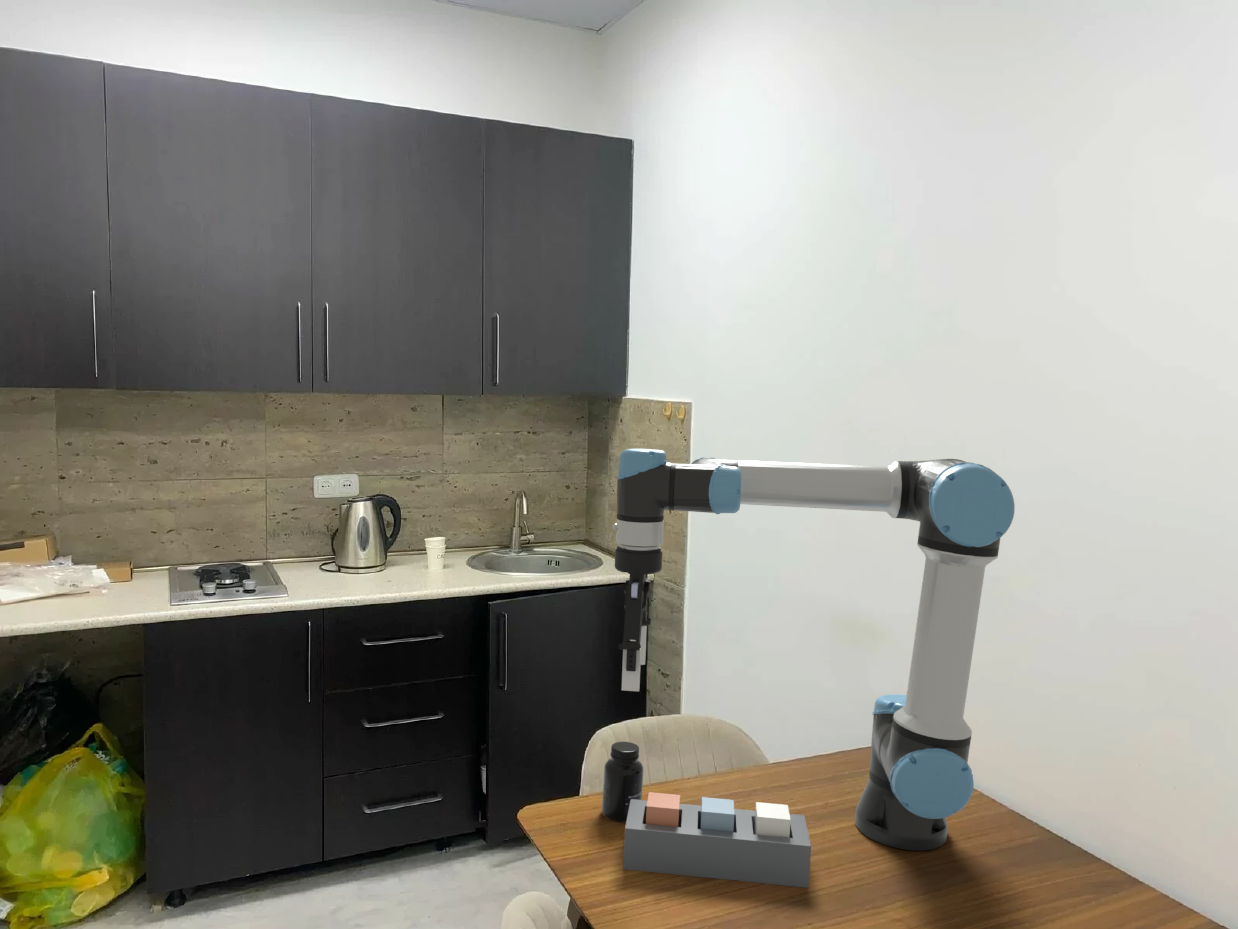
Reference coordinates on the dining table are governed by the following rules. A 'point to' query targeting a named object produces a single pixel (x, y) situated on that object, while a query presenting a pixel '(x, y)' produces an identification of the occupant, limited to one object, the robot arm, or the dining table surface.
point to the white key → (772, 820)
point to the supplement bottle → (621, 780)
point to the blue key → (717, 814)
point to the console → (717, 848)
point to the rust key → (663, 809)
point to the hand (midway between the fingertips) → (633, 676)
